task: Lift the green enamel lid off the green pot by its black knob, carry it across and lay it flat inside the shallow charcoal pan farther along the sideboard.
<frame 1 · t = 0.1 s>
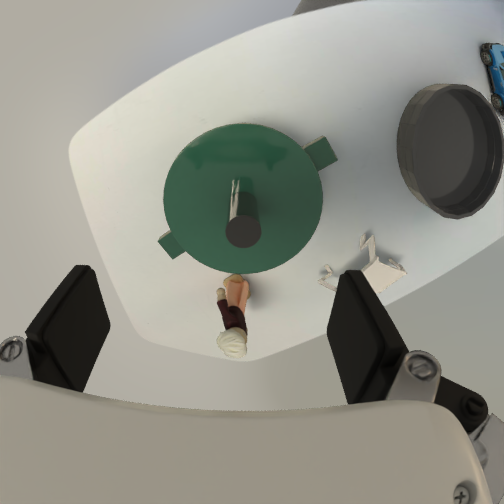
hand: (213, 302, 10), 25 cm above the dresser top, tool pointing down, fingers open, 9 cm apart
toy car: (495, 78, 25), on the dresser top
grandmother figurine: (235, 283, 40), on the dresser top
origami figure: (355, 259, 39), on the dresser top
lid: (243, 203, 24), point 9 cm above the dresser top, touching pot
pot: (242, 176, 33), on the dresser top
pan: (448, 147, 31), on the dresser top
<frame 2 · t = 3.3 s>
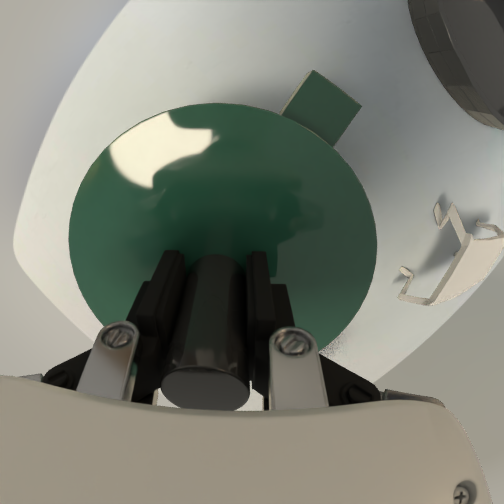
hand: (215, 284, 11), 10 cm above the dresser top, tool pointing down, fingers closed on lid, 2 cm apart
origami figure: (435, 243, 23), on the dresser top
lid: (217, 272, 12), point 10 cm above the dresser top, touching gripper, pot
pot: (227, 201, 20), on the dresser top
pan: (484, 37, 13), on the dresser top
when the fingers open (2 cm above the dresser top, at t = 12.0 s): lid stays where it is, resting on pan.
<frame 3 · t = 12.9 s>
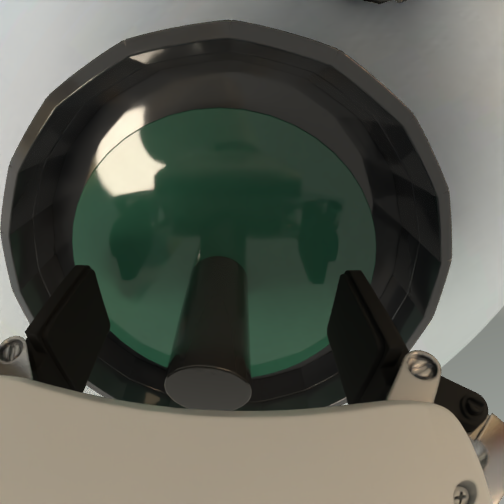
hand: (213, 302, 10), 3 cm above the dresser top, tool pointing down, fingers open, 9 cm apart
lid: (219, 274, 12), point 1 cm above the dresser top, touching pan
pan: (220, 259, 13), on the dresser top
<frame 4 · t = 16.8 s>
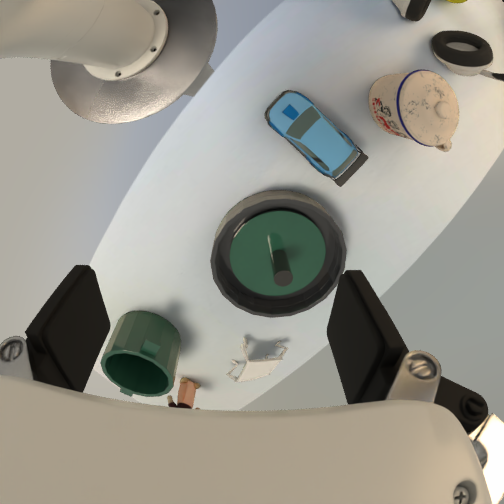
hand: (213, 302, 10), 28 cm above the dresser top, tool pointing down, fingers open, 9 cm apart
teacup with lid: (400, 112, 32), on the dresser top
toy car: (308, 132, 34), on the dresser top
headphones: (425, 28, 25), on the dresser top
grandmother figurine: (187, 381, 56), on the dresser top
origami figure: (251, 350, 52), on the dresser top
lid: (278, 255, 41), point 1 cm above the dresser top, touching pan
pot: (148, 336, 49), on the dresser top
pan: (277, 250, 42), on the dresser top
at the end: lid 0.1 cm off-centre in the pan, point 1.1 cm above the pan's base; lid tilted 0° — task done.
